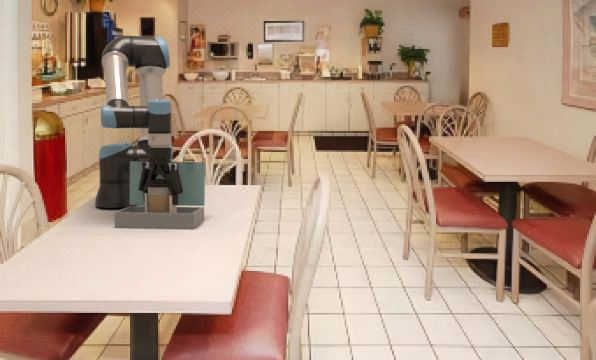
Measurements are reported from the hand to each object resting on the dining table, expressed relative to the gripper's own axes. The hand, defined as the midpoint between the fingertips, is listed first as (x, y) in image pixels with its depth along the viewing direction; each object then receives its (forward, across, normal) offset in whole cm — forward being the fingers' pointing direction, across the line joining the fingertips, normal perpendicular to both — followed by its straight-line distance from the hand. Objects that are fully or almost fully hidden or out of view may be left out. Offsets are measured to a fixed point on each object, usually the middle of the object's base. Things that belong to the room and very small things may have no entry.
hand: (160, 213), depth 206 cm
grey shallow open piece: (+4, 0, 0) cm, 4 cm away
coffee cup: (+4, 0, 0) cm, 4 cm away
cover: (-2, -3, +7) cm, 8 cm away
